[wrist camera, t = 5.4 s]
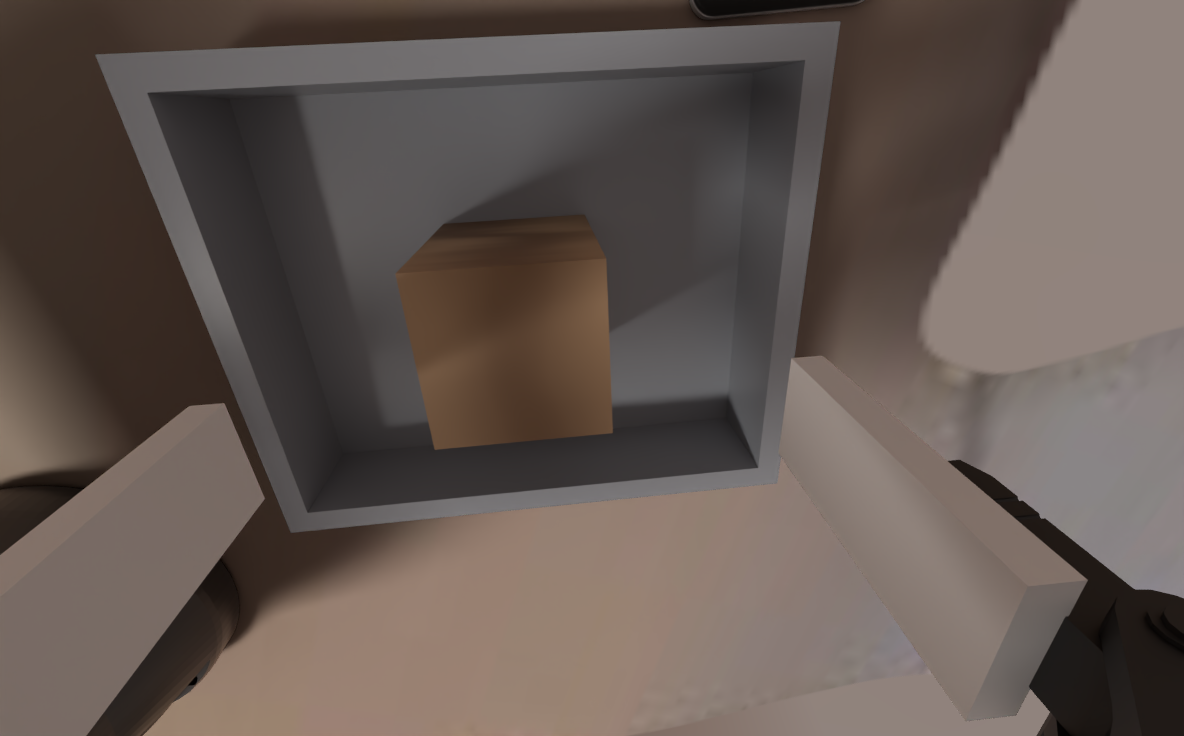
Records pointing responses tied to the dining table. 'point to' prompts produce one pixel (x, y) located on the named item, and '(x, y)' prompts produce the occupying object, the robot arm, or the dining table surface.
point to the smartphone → (759, 7)
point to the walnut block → (510, 331)
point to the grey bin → (486, 193)
